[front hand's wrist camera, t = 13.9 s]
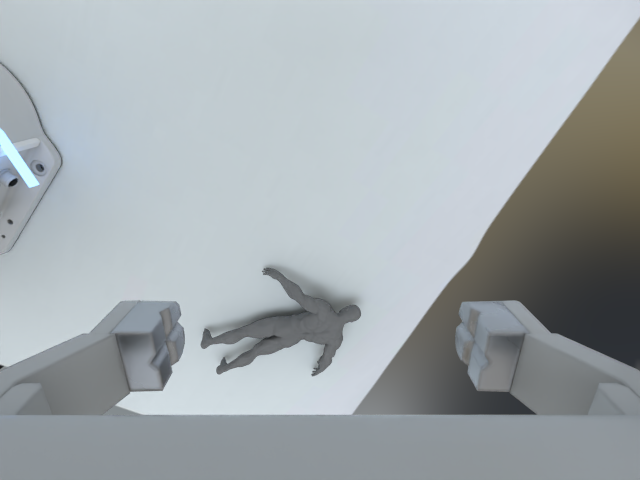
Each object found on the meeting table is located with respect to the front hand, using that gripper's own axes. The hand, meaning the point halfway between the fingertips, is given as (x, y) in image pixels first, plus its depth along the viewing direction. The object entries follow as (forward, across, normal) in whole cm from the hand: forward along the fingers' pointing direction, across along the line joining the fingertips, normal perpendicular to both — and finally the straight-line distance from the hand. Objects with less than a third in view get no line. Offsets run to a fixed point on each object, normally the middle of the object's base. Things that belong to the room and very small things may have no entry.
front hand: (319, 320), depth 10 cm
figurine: (+30, +5, +21) cm, 37 cm away
